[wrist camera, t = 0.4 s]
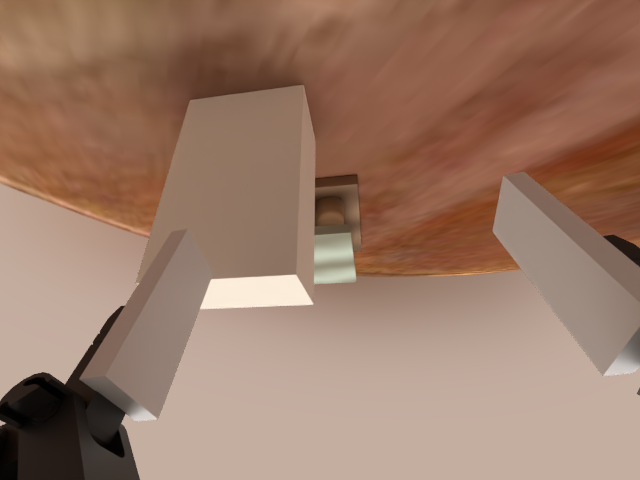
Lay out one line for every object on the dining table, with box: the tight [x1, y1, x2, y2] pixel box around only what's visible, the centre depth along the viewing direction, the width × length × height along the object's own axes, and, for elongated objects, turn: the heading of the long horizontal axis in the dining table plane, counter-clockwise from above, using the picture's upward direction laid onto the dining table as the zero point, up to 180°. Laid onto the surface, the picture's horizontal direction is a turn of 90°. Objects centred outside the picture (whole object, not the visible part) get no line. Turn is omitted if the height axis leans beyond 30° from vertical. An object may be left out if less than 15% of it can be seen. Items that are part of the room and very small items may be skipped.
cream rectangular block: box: [136, 85, 315, 309], centre depth 22 cm, size 6×9×15 cm, turn 98°
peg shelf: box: [314, 175, 362, 284], centre depth 38 cm, size 16×16×6 cm
